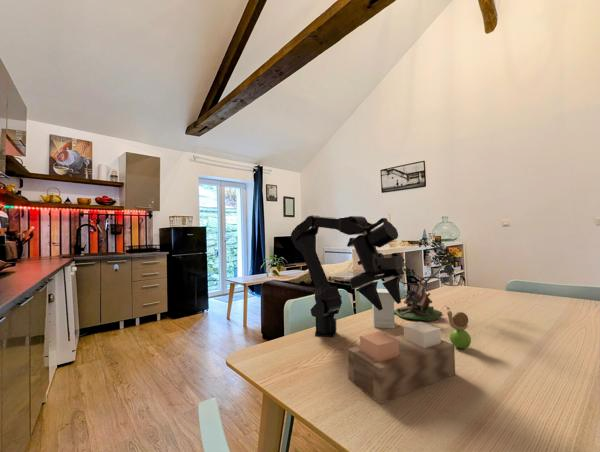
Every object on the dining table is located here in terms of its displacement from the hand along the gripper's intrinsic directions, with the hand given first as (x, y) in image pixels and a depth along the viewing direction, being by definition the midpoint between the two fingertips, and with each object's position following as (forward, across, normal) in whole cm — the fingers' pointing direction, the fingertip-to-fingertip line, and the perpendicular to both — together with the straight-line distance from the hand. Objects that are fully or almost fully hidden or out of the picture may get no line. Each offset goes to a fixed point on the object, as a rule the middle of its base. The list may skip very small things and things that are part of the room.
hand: (390, 306), depth 75 cm
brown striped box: (+16, -6, 0) cm, 17 cm away
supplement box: (+5, +22, +21) cm, 31 cm away
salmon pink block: (+12, -13, 0) cm, 18 cm away
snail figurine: (+17, +20, -2) cm, 27 cm away
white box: (+13, 0, -3) cm, 13 cm away
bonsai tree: (+8, +45, +15) cm, 48 cm away
